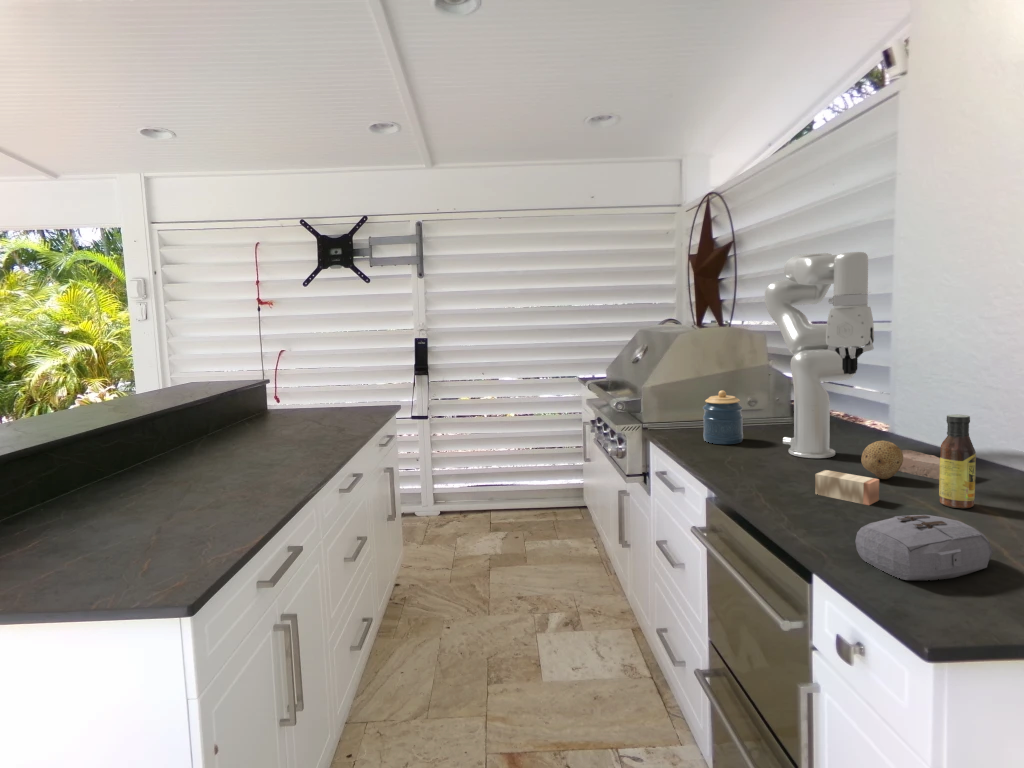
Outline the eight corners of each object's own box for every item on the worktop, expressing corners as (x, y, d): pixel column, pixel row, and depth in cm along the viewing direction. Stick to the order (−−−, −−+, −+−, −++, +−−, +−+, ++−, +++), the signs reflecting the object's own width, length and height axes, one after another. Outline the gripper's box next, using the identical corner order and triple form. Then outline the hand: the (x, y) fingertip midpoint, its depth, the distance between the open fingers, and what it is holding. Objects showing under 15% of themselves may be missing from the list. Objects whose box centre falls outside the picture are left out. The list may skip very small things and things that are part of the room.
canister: (699, 443, 199) (698, 392, 197) (708, 436, 210) (707, 387, 208) (739, 446, 192) (738, 393, 190) (746, 438, 203) (745, 388, 201)
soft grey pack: (915, 592, 92) (1017, 573, 96) (916, 541, 91) (1019, 525, 95) (842, 555, 106) (933, 540, 110) (843, 511, 105) (934, 498, 110)
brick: (973, 478, 146) (974, 460, 146) (953, 484, 143) (954, 465, 142) (906, 465, 161) (906, 448, 161) (886, 470, 158) (886, 453, 157)
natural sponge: (880, 485, 144) (880, 446, 143) (852, 476, 152) (852, 439, 151) (911, 481, 146) (912, 442, 144) (882, 472, 154) (882, 435, 153)
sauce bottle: (976, 511, 123) (979, 419, 121) (940, 507, 127) (942, 417, 125) (972, 502, 129) (975, 413, 127) (937, 498, 132) (939, 412, 130)
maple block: (815, 473, 140) (869, 483, 130) (825, 469, 143) (879, 479, 133) (815, 494, 140) (869, 505, 131) (825, 489, 143) (878, 500, 134)
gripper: (813, 304, 152) (813, 373, 154) (875, 300, 140) (874, 376, 142) (827, 303, 157) (827, 370, 159) (889, 299, 145) (888, 373, 147)
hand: (849, 373), depth 150 cm, fingers closed
